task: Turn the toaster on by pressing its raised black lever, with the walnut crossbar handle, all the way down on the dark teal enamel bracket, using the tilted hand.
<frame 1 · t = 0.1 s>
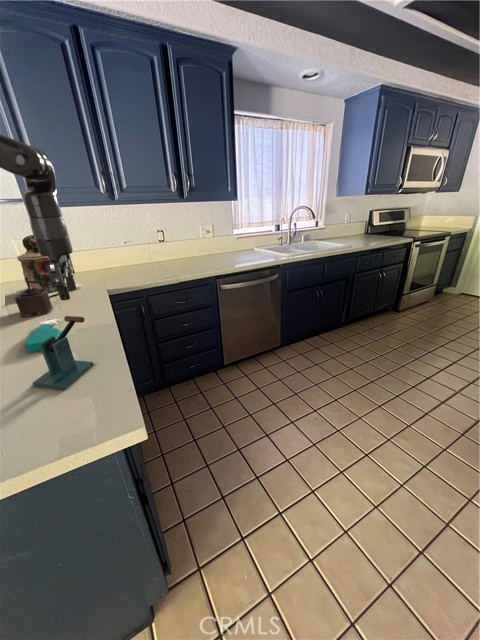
hand: (69, 294, 75), 23 cm above the worktop, tool pointing down, fingers open, 8 cm apart
spray bottle: (47, 336, 102), on the worktop
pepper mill: (44, 311, 125), on the worktop
toaster bracket: (65, 375, 79), on the worktop
cookie jar: (50, 291, 152), on the worktop
toaster lever: (64, 332, 78), point 12 cm above the worktop, hinge at 25.0°
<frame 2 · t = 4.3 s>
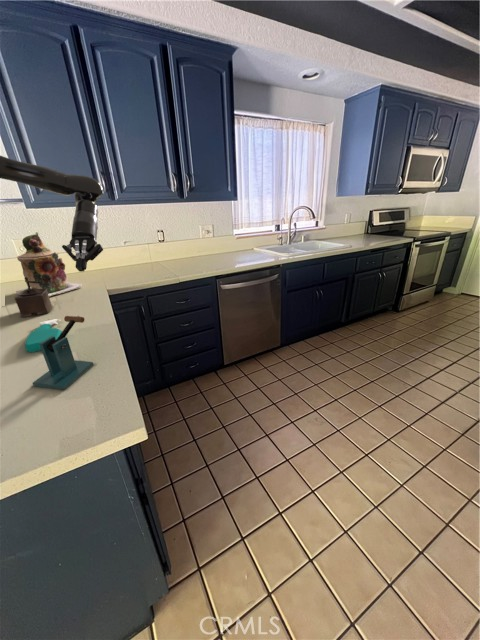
hand: (80, 270, 87), 26 cm above the worktop, tool tilted 45°, fingers closed
nothing on the worktop moved.
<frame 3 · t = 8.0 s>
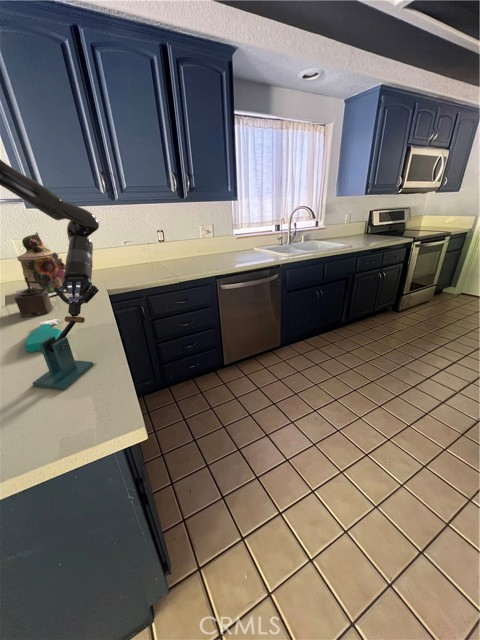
hand: (74, 315, 81), 15 cm above the worktop, tool tilted 45°, fingers closed
toaster lever: (64, 332, 78), point 12 cm above the worktop, hinge at 24.1°, touching gripper
everything else where it was.
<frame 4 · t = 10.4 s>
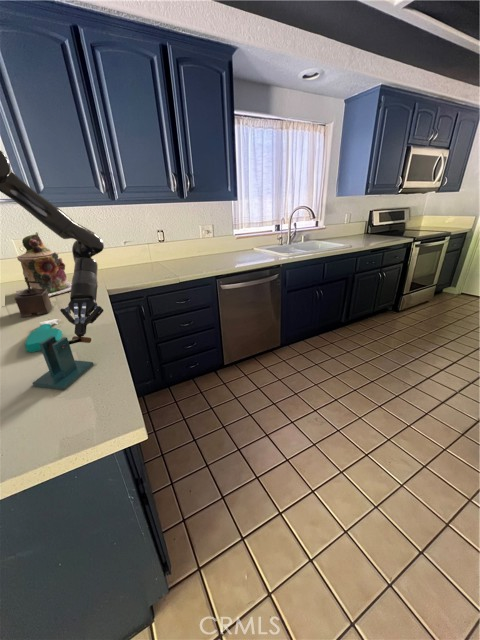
hand: (80, 335, 84), 8 cm above the worktop, tool tilted 45°, fingers closed
toaster lever: (68, 342, 79), point 9 cm above the worktop, hinge at -18.3°, touching gripper
everything else where it was.
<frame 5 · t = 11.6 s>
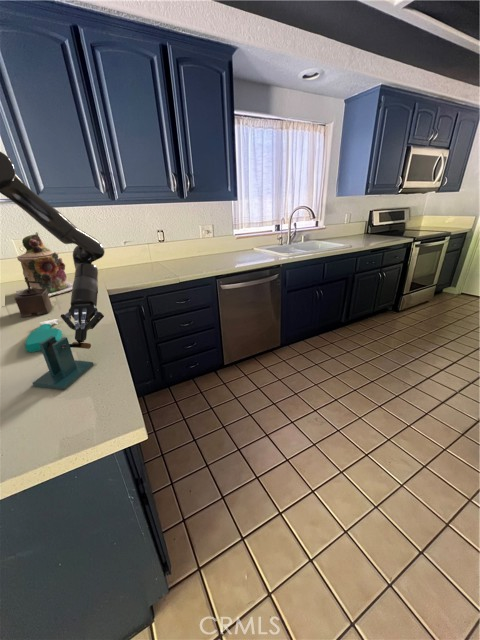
hand: (80, 341, 84), 7 cm above the worktop, tool tilted 45°, fingers closed
toaster lever: (68, 345, 79), point 8 cm above the worktop, hinge at -29.0°, touching gripper
everything else where it was.
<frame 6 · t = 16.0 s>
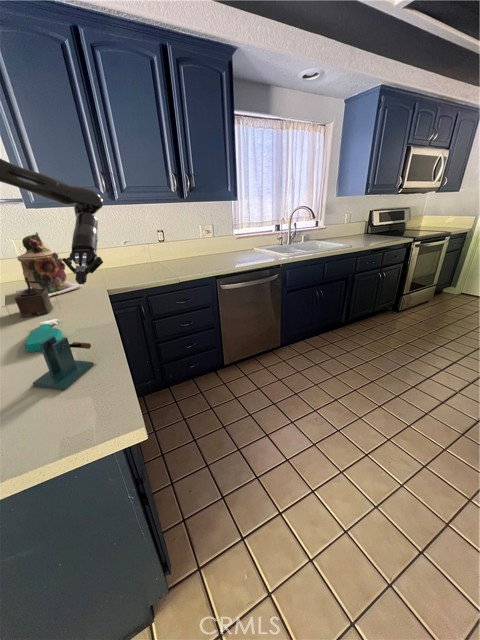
hand: (80, 283, 88), 22 cm above the worktop, tool tilted 45°, fingers closed
toaster lever: (68, 345, 79), point 8 cm above the worktop, hinge at -29.0°
everything else where it was.
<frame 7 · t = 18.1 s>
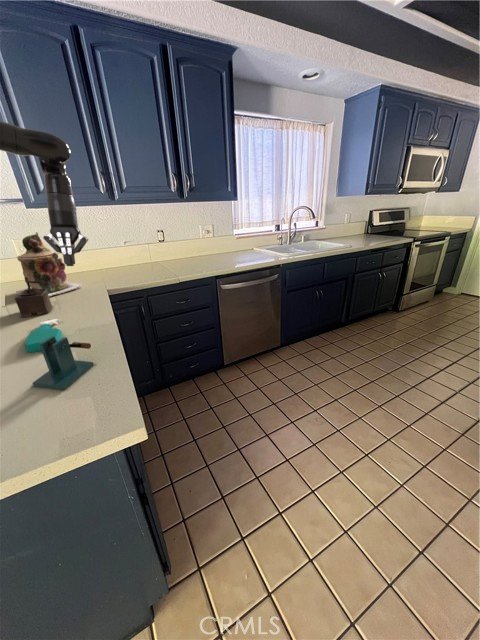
hand: (70, 265, 88), 27 cm above the worktop, tool pointing down, fingers closed
nothing on the worktop moved.
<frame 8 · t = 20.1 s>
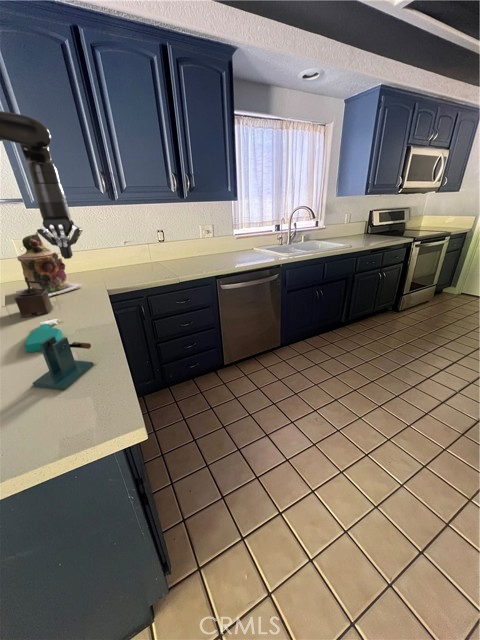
hand: (68, 258, 87), 30 cm above the worktop, tool pointing down, fingers closed
nothing on the worktop moved.
at the end: toaster lever at -29° (first picture: +25°); toaster lever reached -29° during the clip, -29° at the end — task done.
